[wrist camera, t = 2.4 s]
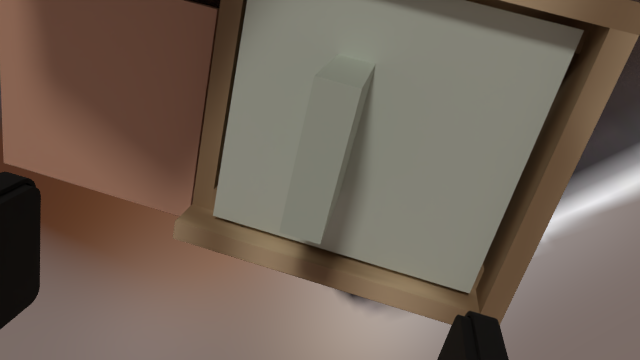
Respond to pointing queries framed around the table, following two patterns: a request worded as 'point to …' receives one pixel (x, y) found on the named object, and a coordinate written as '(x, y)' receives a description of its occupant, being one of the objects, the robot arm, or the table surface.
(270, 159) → the cover plate
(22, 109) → the terracotta tile
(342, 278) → the oak box
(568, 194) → the table surface
